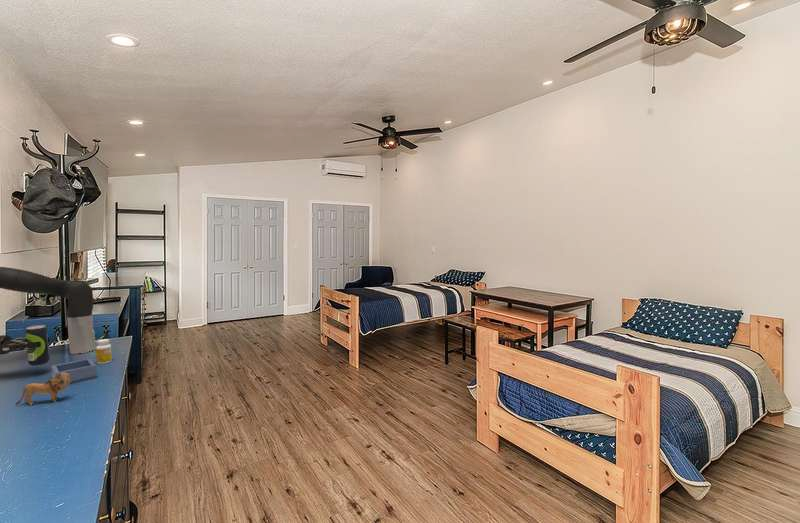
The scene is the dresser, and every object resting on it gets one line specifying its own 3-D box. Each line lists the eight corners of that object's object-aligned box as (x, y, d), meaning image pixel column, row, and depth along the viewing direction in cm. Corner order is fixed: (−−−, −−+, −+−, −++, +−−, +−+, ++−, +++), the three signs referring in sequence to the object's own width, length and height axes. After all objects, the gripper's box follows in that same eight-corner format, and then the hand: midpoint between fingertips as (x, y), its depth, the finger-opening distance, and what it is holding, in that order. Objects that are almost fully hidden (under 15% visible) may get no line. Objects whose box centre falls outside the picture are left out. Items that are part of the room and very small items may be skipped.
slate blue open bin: (90, 370, 161) (90, 358, 161) (96, 377, 153) (95, 365, 153) (52, 378, 152) (51, 365, 152) (56, 386, 144) (55, 373, 144)
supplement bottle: (93, 363, 169) (92, 341, 169) (107, 359, 174) (105, 338, 174) (101, 364, 167) (100, 342, 167) (115, 360, 172) (113, 339, 172)
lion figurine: (73, 394, 138) (72, 369, 137) (69, 400, 133) (67, 374, 132) (18, 403, 131) (16, 377, 130) (11, 409, 126) (9, 382, 126)
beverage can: (50, 363, 157) (47, 326, 155) (29, 367, 152) (25, 330, 151) (48, 359, 161) (45, 323, 160) (28, 363, 157) (24, 326, 155)
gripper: (-23, 341, 145) (33, 337, 150) (3, 331, 158) (54, 328, 163) (-21, 361, 145) (35, 356, 150) (5, 349, 159) (55, 345, 164)
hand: (45, 341), depth 157 cm, fingers closed on beverage can, 5 cm apart
